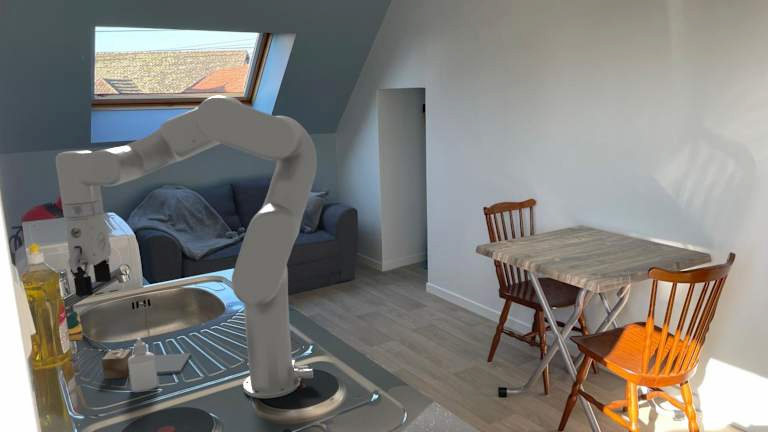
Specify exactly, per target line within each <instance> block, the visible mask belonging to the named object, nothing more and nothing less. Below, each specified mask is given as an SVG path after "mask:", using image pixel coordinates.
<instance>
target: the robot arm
mask: <svg viewBox="0 0 768 432" xmlns="http://www.w3.org/2000/svg"><path fill="white" fill-rule="evenodd" d="M220 144H222V145H225V146H227V147H230V148H233V149H236V150H238V151H241V152H245V153H247V154H249V155H252V156H255V157H258V158H261V159H265V160H268V161H276V166H275V169H274V173H273V174H272V175H273V176H272V177H271V180H270V183H269V188H268V191H267V194H266V197H265V199H264V202H263V204H262V207H261V208H260V209H259V211H257V213H256V214H255V215H254V216H253V217H252V218H251V220H250V222H249V225H248V226H247V229H246V232H245V235H244V238H243V241H242V244H241V247H240V250H239V252H238V253H239V254H238V256H237V259H236V262H235V266H234V268H233V272H232V275H231V288H232V291H233V293H234V296H236V298H237V299H238V300H239V301H240V302H241V303H243V310H244V311H243V313H244V324H245V325H244V326H245V337H246V348H247V360H248V372H249V376H248V377H247V378H246V379H245V380H244V382H243V391H244V392H245V394H246V395H248V396H250V397H252V398H257V399H275V398H280V397H283V396H287V395H289V394H291V393H293V392H294V391H296V390H297V389H298V388H299V387H300V385H301V383H300V381H301V379H312V378H314V369H313V368H309V365H302V366H298V365H296V361H295V360H296V359H293V353H292V341H291V339H292V338H291V329H290V326H291V325H290V312H289V311H290V310H289V309H290V308H289V290H288V289H289V287H288V286H289V281H288V280H289V278H288V277H289V271H288V265H287V264H288V261H289V258H290V256H291V252H292V250H293V246H294V244H295V242H296V240H297V238H298V236H299V233H300V229H301V225H302V221H303V216H304V215H305V214H304V213H305V210H306V207H307V205H308V203H309V202H308V201H309V198H310V195H311V191H312V188H313V185H314V181H315V177H316V174H317V173H316V172H317V166H318V165H317V163H318V159H317V157H318V156H317V150H316V147H315V143H314V142H313V139H312V137H311V136H310V134H309V133H308V131H307V130H306V129H305V127H303V126H302V125H301V123H299V122H298V121H297V120H295V119H294V118H292V117H289V116H285V115H276V116H275V115H273V114H269V113H268V112H267V113H265V112H264V111H260V110H257V109H254V108H252V107H250V106H246V105H244V103H242V102H241V101H240V100H238V98H235V97H233V96H225V95H213V96H211V97H208V98H206V99H204V100H203V101H202V102H201V103H200V104H199V105H198V107H195V108H193V109H191V110H189V111H186V112H184V113H181V114H178V115H175V116H174V117H171V118H169V119H167V120H165V121H164V122H162V123H161V124H160V126H159V128H158V129H157V130H155V131H154V132H152V133H151V134H148V135H147V136H144V137H142V138H140V139H136V140H135V141H132V142H130V143H127V144H125V145H123V146H118V147H117V146H116V147H111V148H107V149H106V148H105V149H101V150H96V151H91V150H72V151H64V152H59V153H58V154H57V155H56V157H55V166H56V173H57V179H58V187H59V194H60V199H61V206H62V208H61V209H62V213H63V219H64V220H65V221H66V235H67V236H66V237H67V247H68V248H67V249H68V254H69V258H68V262H67V263H68V266H69V268H70V273H71V274H72V278H73V281H74V288H75V289H74V290H75V295H76V297H85V296H93V294H94V290H93V281H92V276H91V275H90V269H91V265H92V266H93V273H94V280H95V281H94V282H96V283H105V282H108V283H109V282H111V280H112V278H111V276H112V275H111V269H110V259H109V257H110V256H111V253H112V248H111V243H110V238H109V233H108V232H109V231H108V228H107V223H106V220H105V217H104V212H105V211H104V205H103V198H102V192H101V186H102V187H114V186H115V187H116V186H118V185H122V184H124V183H127V182H130V181H134V180H136V179H140V178H141V177H143V176H146V175H148V174H150V173H152V172H155V171H157V170H160V169H162V168H164V167H167V166H168V165H171V164H173V163H174V164H175V163H177V162H182V161H183V160H186V159H187V158H191V157H192V156H195V155H197V154H199V153H202V152H204V151H206V150H209V149H210V148H213V147H216V146H218V145H220ZM298 386H299V387H298ZM297 387H298V388H297Z"/></svg>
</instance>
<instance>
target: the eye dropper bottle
mask: <svg viewBox="0 0 768 432" xmlns="http://www.w3.org/2000/svg"><path fill="white" fill-rule="evenodd" d="M133 351H134V354H132V356H131V357H129V359H128V367H129V374H128V376H129V382H130V389H131V392H132V393H143V392H147V391H151V390H154V389H156V388H158V386H159V381H158V374H157V372H156V364H155V356H154V355H155V354H154V353H153V352H149V351H147V345H146V343H145V342H143V341H142V339H141V337H138V338H136V343H134V344H133Z"/></svg>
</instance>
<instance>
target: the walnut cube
mask: <svg viewBox="0 0 768 432" xmlns="http://www.w3.org/2000/svg"><path fill="white" fill-rule="evenodd" d="M132 355H133V353H132V349H115V350H109V351H108V352H107V353H106V354H105V356H103V358H102V359H101V363H102V364H101V365H102V372H103V378H104V380H107V379H110V380H111V379H122V378H123V379H124V378H127V377H129V367H128V359H129V357H131V356H132Z"/></svg>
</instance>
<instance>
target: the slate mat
mask: <svg viewBox="0 0 768 432" xmlns="http://www.w3.org/2000/svg"><path fill="white" fill-rule="evenodd" d="M191 353H192V352H186V353H170V354H156V355H155V354H154V356H155V364H156V372H157V375H164V374H165V375H166V374H167V375H168V374H180V373H181V372H183V369H184V368H185V366H186V365H187V363H188V361H189V359H190V358H191V356H192V354H191Z"/></svg>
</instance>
